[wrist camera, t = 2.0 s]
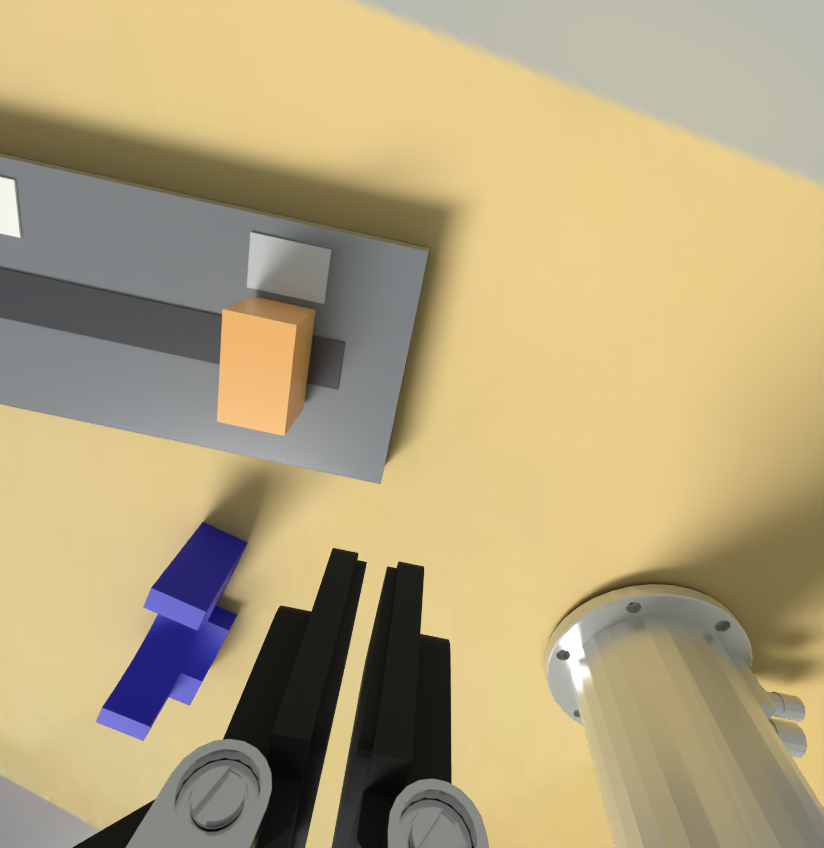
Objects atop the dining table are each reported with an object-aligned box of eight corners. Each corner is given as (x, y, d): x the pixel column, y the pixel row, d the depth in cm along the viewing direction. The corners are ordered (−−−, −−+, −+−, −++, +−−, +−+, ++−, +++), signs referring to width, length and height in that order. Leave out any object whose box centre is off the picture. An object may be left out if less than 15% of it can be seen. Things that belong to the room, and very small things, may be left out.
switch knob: (315, 309, 23) (296, 325, 20) (303, 408, 25) (284, 435, 22) (251, 295, 23) (222, 309, 20) (243, 396, 25) (217, 421, 22)
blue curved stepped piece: (209, 667, 36) (166, 750, 31) (150, 642, 36) (96, 722, 30) (270, 551, 32) (232, 623, 26) (203, 520, 31) (151, 587, 26)
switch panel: (429, 248, 24) (428, 251, 22) (384, 466, 29) (380, 485, 27) (-121, 126, 23) (-172, 119, 21) (-73, 369, 28) (-111, 381, 26)
